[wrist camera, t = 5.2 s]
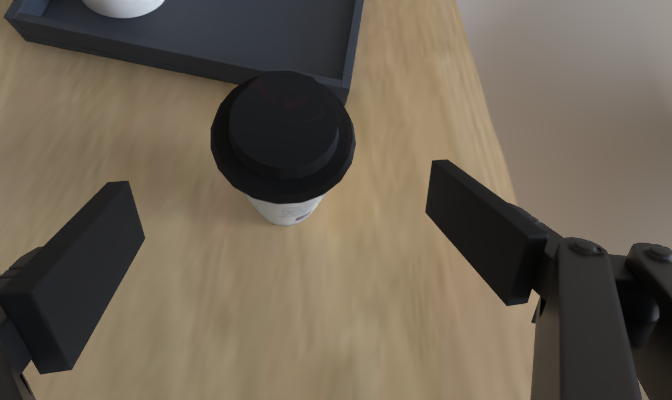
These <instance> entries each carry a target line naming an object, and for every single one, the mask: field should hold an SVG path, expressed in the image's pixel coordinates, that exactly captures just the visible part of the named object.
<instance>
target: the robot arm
mask: <svg viewBox="0 0 672 400" xmlns="http://www.w3.org/2000/svg"><path fill="white" fill-rule="evenodd" d="M425 212H426V214H427V215H428V216H429V217H430V218H431V219H432V221H433V222H434V223H435V224H436V225H437V226H438V227H439V229H440V230H441V231H442V232H443V233H444V234H445V235H446V237H447V238H448V239H449V240H450V241H451V242H452V244H453V245H454V246H455V247H456V248H457V249H458V250H459V252H460V253H461V254H462V255H463V256H464V257H465V258H466V260H467V261H468V262H469V263H470V264H471V265H472V267H473V268H474V269H475V270H476V271H477V272H478V273H479V275H480V276H481V277H482V278H483V279H484V280H485V281H486V283H487V284H488V285H489V286H490V287H491V288H492V290H493V291H494V292H495V293H496V294H497V295H498V296H499V298H500V299H501V300H502V301H503V302H504V303H505V304H506V306H510V305H517V304H524V303H527V302H528V299H529V296H530V293H531V290H532V289H533V290H534V291H535V292H536V293H537V294H538V295H540V298H539V301H538V304H537V307H536V310H535V313H534V316H533V319H532V321H531V322H532V323H536V329H535V344H534V358H533V373H532V387H531V400H642V397H641V392H640V388H639V383H638V380H639V382H640V384H641V385H642V387H643V389H644V391H645V392H646V394H647V396H648V398H649V400H672V250H670V249H669V248H667V247H662V246H661V245H657V244H650V243H636V244H633V246H632V247H631V249H630V251H629V254H628V255H627V256H621V255H611V254H608V253H607V251H606V250H605V249H604V248H602V247H601V246H600V245H597V244H595V243H593V242H591V241H587V240H585V239H581V238H574V237H568V238H563V237H562V236H560V235H559V234H557V233H556V232H555V231H553V230H552V229H550V228H549V227H548V226H546V225H545V224H543V223H542V222H539V220H538V219H536V218H535V217H533V216H531V215H530V214H529V213H528V212H526V211H525V210H523V209H522V208H520V207H518V206H515V205H513V204H510V203H507V202H505V201H504V200H503V199H501V198H500V197H499V196H497V195H496V194H494V193H493V192H492V191H490V190H489V189H487V188H486V187H485V186H483V185H482V184H481V183H479V182H478V181H476V180H475V179H474V178H472V177H471V176H470V175H468V174H467V173H465V172H464V171H463V170H461V169H460V168H459V167H457V166H456V165H454V164H453V163H452V162H450V161H449V160H433V161H432V166H431V174H430V181H429V189H428V196H427V204H426V211H425ZM144 240H145V236H144V232H143V229H142V226H141V222H140V219H139V215H138V212H137V208H136V205H135V202H134V198H133V195H132V191H131V188H130V184H129V181H118V182H107V183H106V184H105V185H104V186H103V187H102V188H101V189H100V190H99V191H98V192H97V193H96V194H95V195H94V196H93V197H92V198H91V199H90V200H89V201H88V202H87V203H86V204H85V205H84V206H83V207H82V208H81V209H80V210H79V211H78V212H77V213H76V214H75V215H74V216H73V217H72V218H71V219H70V220H69V221H68V222H67V223H66V224H65V225H64V226H63V227H62V228H61V229H60V230H59V231H58V232H57V233H56V234H55V235H54V236H53V237H52V238H51V239H50V240H49V241H48V242H47V243H46V244H45V245H44V246H43V247H37V248H35V249H34V250H32V251H30V252H28V253H27V254H25V255H23V256H22V257H20V258H19V259H18V260H17V261H16V262H15V263H14V264H13V265H12V266H11V267H10V268H9V270H6V271H5V272H4V273H3V274H2V275H1V276H0V400H36V399H35V397H34V395H33V393H32V391H31V388H30V386H29V384H28V382H27V380H26V379H25V377H24V375H23V374H22V372H23V371H24V369H25V368H26V366H27V365H28V363H29V362H30V361H31V359H32V361H33V363H34V365H35V366H36V368H37V370H38V372H39V373H40V374H46V373H53V372H60V371H67V370H72V368H73V367H74V365H75V363H76V361H77V360H78V358H79V356H80V354H81V352H82V351H83V349H84V347H85V345H86V343H87V342H88V340H89V338H90V336H91V334H92V333H93V331H94V329H95V327H96V325H97V324H98V322H99V320H100V318H101V317H102V315H103V313H104V311H105V309H106V308H107V306H108V304H109V302H110V300H111V299H112V297H113V295H114V293H115V291H116V290H117V288H118V286H119V284H120V283H121V281H122V279H123V277H124V275H125V274H126V272H127V270H128V268H129V266H130V265H131V263H132V261H133V259H134V257H135V256H136V254H137V252H138V250H139V249H140V247H141V245H142V243H143V241H144ZM637 378H638V379H637Z"/></svg>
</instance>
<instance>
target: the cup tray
mask: <svg viewBox="0 0 672 400" xmlns="http://www.w3.org/2000/svg"><path fill="white" fill-rule="evenodd" d="M363 2H364V0H165V1H164V2H163V3H162V4H161V5H160V6H159V7H158V8H156V9H155V10H153V11H152V12H149V13H147V14H145V15H142V16H138V17H133V18H113V17H108V16H104V15H101V14H98V13H96V12H94V11H93V10H91V9H90V8H88V7H87V6H86V5H85V4H84V3H83V2H82V1H81V0H14V1H13V3H12V4H11V6H10V8H9V9H8V11H7V12H6V14H5V16H4V18H5V19H6V20H7V21H8V22H9V23H10V24H11V25H12V26H13V27H14V28H15V29H16V31H17V32H18V33H19V34H21V36H22V37H23V38H24V39H25V40H26V41H30V42H35V43H40V44H45V45H50V46H55V47H60V48H64V49H69V50H74V51H79V52H84V53H89V54H94V55H99V56H103V57H108V58H113V59H118V60H123V61H128V62H133V63H138V64H143V65H147V66H152V67H157V68H162V69H167V70H172V71H177V72H182V73H186V74H191V75H196V76H201V77H206V78H211V79H216V80H221V81H225V82H230V83H235V84H240V85H241V84H242V83H244V82H246V81H247V80H249V79H251V78H254V77H258V76H260V75H262V74H263V73H265V72H266V71H294V72H297V73H301V74H304V75H308V76H311V77H313V78H314V79H315V80H316V81H317V82H318V83H320V84H322V85H324V86H325V87H327V88H329V89H330V90H331V91H332V92H333V93H334V94H335V96H336V97H337V98H338V99H339V100H340V101H341V102H342V103H343V105H344V106H345V104H346V101H347V97H348V93H349V90H350V84H351V78H352V71H353V65H354V59H355V52H356V46H357V40H358V33H359V27H360V21H361V14H362V8H363Z"/></svg>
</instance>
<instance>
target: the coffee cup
mask: <svg viewBox="0 0 672 400" xmlns="http://www.w3.org/2000/svg"><path fill="white" fill-rule="evenodd" d="M355 145H356V142H355V135H354V127H353V123H352V121H351V119H350V117H349V115H348V113H347V111H346V109H345V107H344V105H343V103H342V102H341V101H340V100H339V99H338V98H337V97H336V96H335V94H334V93H333V92H332V91H331V90H330V89H329V88H327V87H325V86H324V85H322V84H320V83H318V82H317V81H316V80H315V79H314V78H313V77H311V76H308V75H304V74H301V73H297V72H294V71H266V72H265V73H263V74H262V75H260V76H258V77H254V78H251V79H249V80H247V81H246V82H244V83H242V84H241V85H239V86H238V87H236V88H234V89H233V90H232V91H231V92H230V94H229V95H228V96H227V97H226V98H225V99H224V101H223V102H222V103H221V104H220V106H219V108H218V111H217V113H216V116H215V118H214V121H213V124H212V126H211V151H212V154H213V156H214V159H215V162H216V164H217V167H218V169H219V171H220V172H221V173H222V174H223V175H224V176H225V178H226V179H227V180H228V181H229V182H230V183H231V185H232V186H233V187H235V188H237V189H238V190H240V191H242V192H243V194H244V195H245V196H246V197H247V199H248V200H249V201H250V202H251V204H252V205H253V206H254V207H255V209H256V210H257V211H258V212H259V214H260V215H261V216H262V217H263V218H264V219H266V220H267V221H269V222H271V223H273V224H277V225H281V226H286V225H294V224H297V223H299V222H302V221H303V220H305V219H306V218H307V217H308V216H309V215H310V214H311V213H312V212H313V210H314V209H315V208H316V206H317V205H318V204H319V202H320V201H321V200H322V198H323V197H324V195H325V194H326V193H327V192H328V191H329V190H330V189H331V188H333V187H334V186H335V185H336V184H337V183H339V182H340V181H341V180H342V178H343V176H344V175H345V173H346V172H347V170H348V168H349V167H350V165H351V164H352V159H353V155H354V150H355Z"/></svg>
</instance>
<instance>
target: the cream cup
mask: <svg viewBox="0 0 672 400" xmlns="http://www.w3.org/2000/svg"><path fill="white" fill-rule="evenodd" d="M81 1H82V2H83V3H84V4H85V5H86V6H87V7H88V8H90V9H91V10H93V11H94V12H96V13H98V14H101V15H104V16H108V17H113V18H133V17H138V16H142V15H145V14H147V13H149V12H152V11H153V10H155V9H156V8H158V7H159V6H160V5H161V4H162V3H163V2H164V1H165V0H81Z"/></svg>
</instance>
